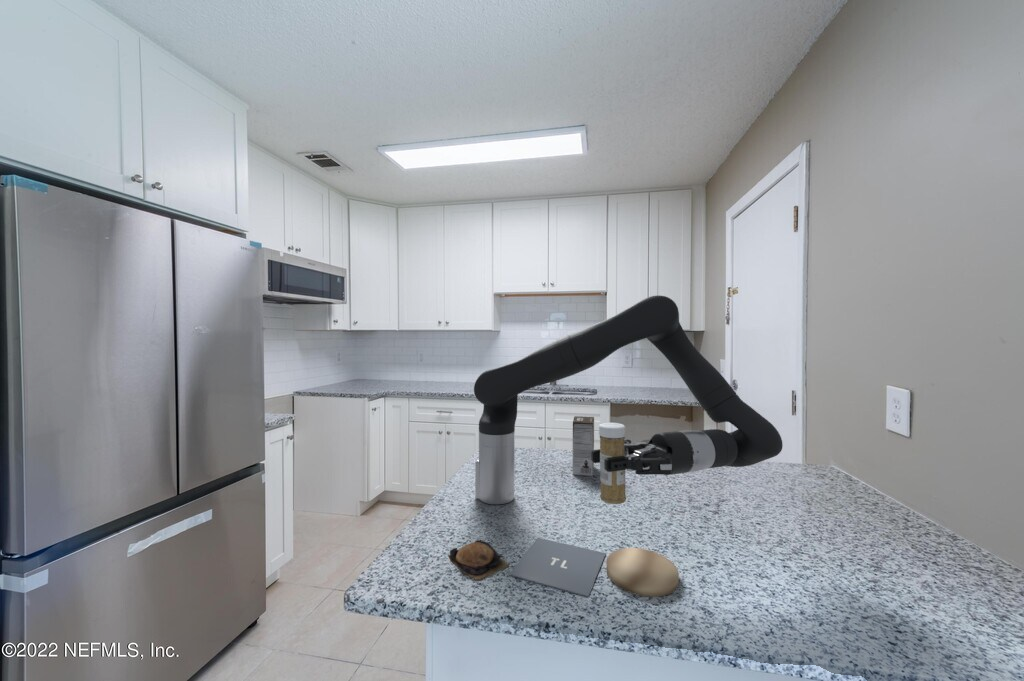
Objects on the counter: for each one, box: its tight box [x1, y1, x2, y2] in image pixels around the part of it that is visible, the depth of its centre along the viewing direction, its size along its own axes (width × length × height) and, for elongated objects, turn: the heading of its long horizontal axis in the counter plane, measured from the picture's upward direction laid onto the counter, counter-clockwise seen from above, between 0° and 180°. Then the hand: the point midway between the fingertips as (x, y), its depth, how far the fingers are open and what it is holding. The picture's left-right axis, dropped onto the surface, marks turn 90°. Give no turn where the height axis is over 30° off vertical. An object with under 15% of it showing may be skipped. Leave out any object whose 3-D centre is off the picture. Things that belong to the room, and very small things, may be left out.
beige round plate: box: [605, 547, 680, 598], centre depth 71 cm, size 12×12×2 cm
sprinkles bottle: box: [598, 422, 627, 505], centre depth 71 cm, size 5×5×13 cm
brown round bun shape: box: [447, 539, 510, 582], centre depth 75 cm, size 11×8×4 cm
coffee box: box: [571, 415, 595, 477], centre depth 125 cm, size 9×6×16 cm
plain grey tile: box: [508, 537, 607, 598], centre depth 74 cm, size 14×14×1 cm
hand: (599, 460), depth 71 cm, fingers closed on sprinkles bottle, 4 cm apart
